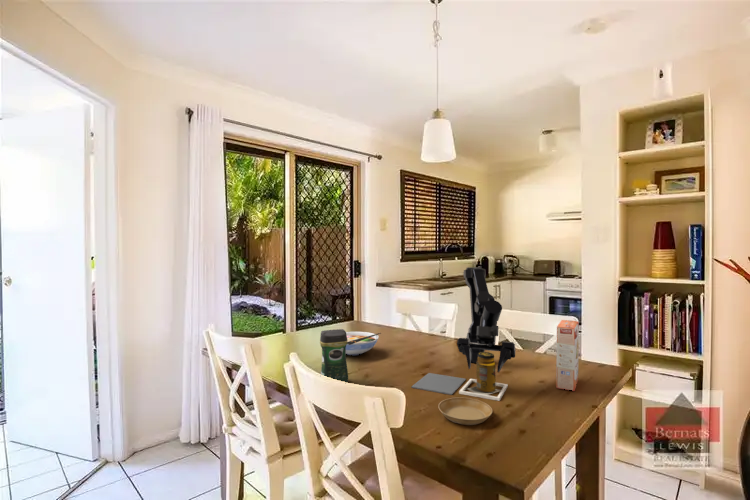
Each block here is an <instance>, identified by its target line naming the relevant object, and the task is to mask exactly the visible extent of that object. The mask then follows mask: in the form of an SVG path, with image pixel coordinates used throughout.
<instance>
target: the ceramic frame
mask: <svg viewBox="0 0 750 500" xmlns="http://www.w3.org/2000/svg"><path fill="white" fill-rule="evenodd" d="M472 383H475V384H477V378H469V380H468V381H467V382H465V384H464V385H463V386H462V387H461V388H460V389H459V391H458V394H459V395H465V396H470V397H476V398H482V399H487V400H492V401H499V402H500V401H501V399H502V397H503V395H504V394H505V393H506V391H507V389H508V383H502V382H496V387H501V389H500V390H501V391H499V394H498V395H497V396H494V395H490V394H489V395H483V394H478V393H474V392H472V391H466V390H467V388H469V386H470V385H471V384H472Z"/></svg>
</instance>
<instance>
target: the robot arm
mask: <svg viewBox="0 0 750 500" xmlns="http://www.w3.org/2000/svg"><path fill="white" fill-rule="evenodd" d="M462 275H463V279H464V281H465V284H466V285H467V287H468V289H469V298H470V299H469V301H470V316H471V323H470V325H469V328H468V330H467V331H468V332H467V334H466V337H459V338H458V339H457V341H456V346H457V348H458V351H459V353H461V354H462V355H463V356H465V358H466V362H467V367H468V370H471V366H472V364H477V360H478V353H480V352H486V351H491V352H492V351H493V352H499V356H498V357H499V358H498V361H497V362H498V363H497V368H496V371H497V373H500V372H501V369H502V368H503V366H504V364H506V362H507V361H508V360H512V359H514V358H516V343H514V342H513V341H502V342H501V344H496V337H498V336H499V325H498V322H499V319H500V317H501V313H502V310H503V306H502V304H501V303H500V302H499V301H497V300H495V299H496V298H495V297H494V296H493V295H492V294H491V293H490V292H489V288H488V285H487V281H486V278H487V276H486V269H485V268H482V267H480V266H479V267H476V266H475V267H468V266H467V267H466V269H463V274H462Z"/></svg>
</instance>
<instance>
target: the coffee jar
mask: <svg viewBox="0 0 750 500" xmlns="http://www.w3.org/2000/svg"><path fill="white" fill-rule="evenodd" d="M320 331H321V330H320ZM346 332H347V331H346V330H345V329H343V328H339V329H338V328H337V329H336V328H335V329H327V330H322V331H321V332H320V338H319V344H320V347H321V364H320V365H321V367H320V375H321V374H322V375H324V376H327V377H331V378H333V379H337V380H341V381H345V382H347V383H348V381H349V372H348V370H349V369H348V364H347V355H346V345H347V335H346Z"/></svg>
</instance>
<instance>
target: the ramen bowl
mask: <svg viewBox="0 0 750 500" xmlns="http://www.w3.org/2000/svg"><path fill="white" fill-rule="evenodd" d="M381 334H382V333H381V332H378V333H372V332H368V331H346V335H347V345H346V354H347V355H346V356H351V355H352V356H359V354H360V355H362V354H363V353H364V354H365V353H366V352H369V351H370V350H371V349H373V348H374V347H375V346H376V343H378V340H379V335H381Z"/></svg>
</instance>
